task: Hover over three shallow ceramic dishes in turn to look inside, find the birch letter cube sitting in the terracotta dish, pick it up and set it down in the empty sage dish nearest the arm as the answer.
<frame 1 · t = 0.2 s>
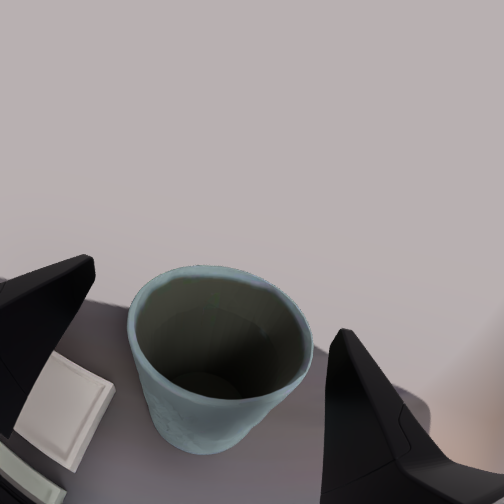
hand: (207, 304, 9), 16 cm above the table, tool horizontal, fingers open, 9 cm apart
teal patterned cup: (201, 409, 21), on the table
dish B: (52, 405, 16), on the table
dish A: (6, 496, 7), on the table
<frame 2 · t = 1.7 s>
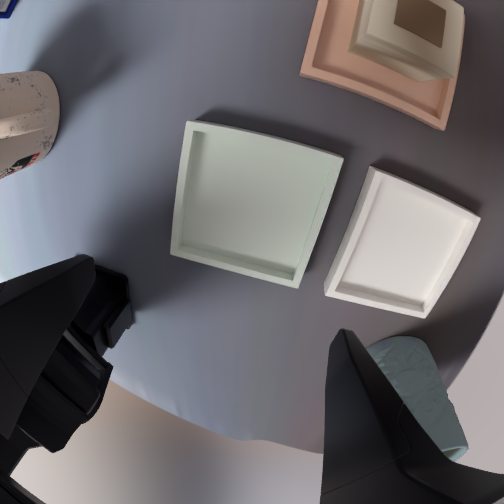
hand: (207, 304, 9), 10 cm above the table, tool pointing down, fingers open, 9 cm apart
dish C: (387, 37, 11), on the table
teal patterned cup: (390, 364, 24), on the table
dish B: (402, 247, 17), on the table
letter cube: (390, 35, 11), point 1 cm above the table, touching dish C
dish A: (250, 202, 18), on the table
teacup with lid: (43, 115, 16), on the table
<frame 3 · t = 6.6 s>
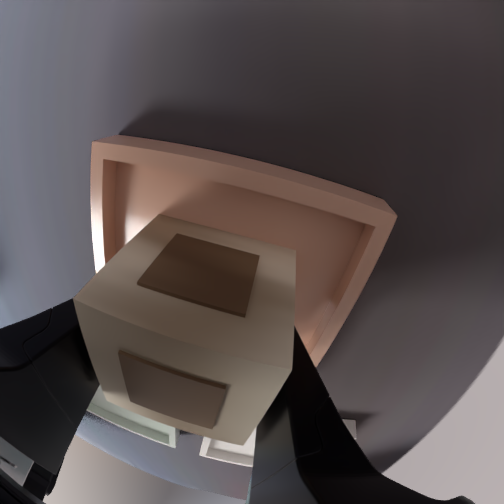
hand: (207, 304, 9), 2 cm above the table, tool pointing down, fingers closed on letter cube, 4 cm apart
dish C: (218, 278, 10), on the table
dish B: (269, 437, 17), on the table
letter cube: (214, 287, 10), point 1 cm above the table, touching dish C, gripper
dish A: (123, 394, 17), on the table
when the fingers open (3 cm above the table, at t = 10.2 s): letter cube drops 2 cm, resting on dish A.
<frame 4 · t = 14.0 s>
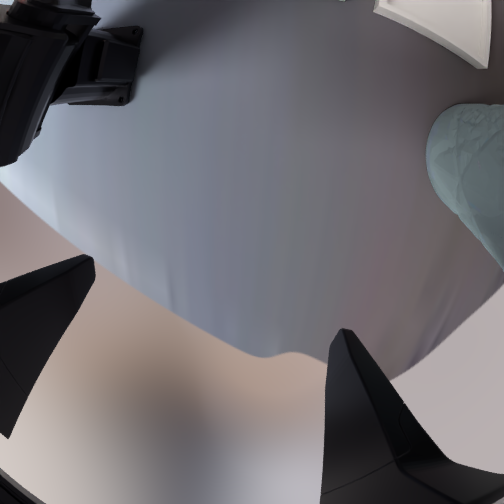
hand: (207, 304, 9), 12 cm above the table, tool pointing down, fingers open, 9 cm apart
teal patterned cup: (469, 160, 15), on the table
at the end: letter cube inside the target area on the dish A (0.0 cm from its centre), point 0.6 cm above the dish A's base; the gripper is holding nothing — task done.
